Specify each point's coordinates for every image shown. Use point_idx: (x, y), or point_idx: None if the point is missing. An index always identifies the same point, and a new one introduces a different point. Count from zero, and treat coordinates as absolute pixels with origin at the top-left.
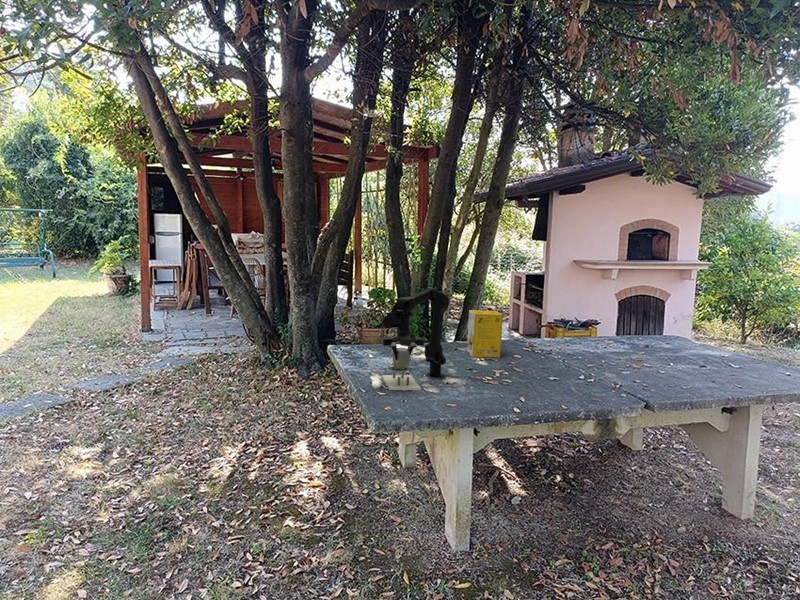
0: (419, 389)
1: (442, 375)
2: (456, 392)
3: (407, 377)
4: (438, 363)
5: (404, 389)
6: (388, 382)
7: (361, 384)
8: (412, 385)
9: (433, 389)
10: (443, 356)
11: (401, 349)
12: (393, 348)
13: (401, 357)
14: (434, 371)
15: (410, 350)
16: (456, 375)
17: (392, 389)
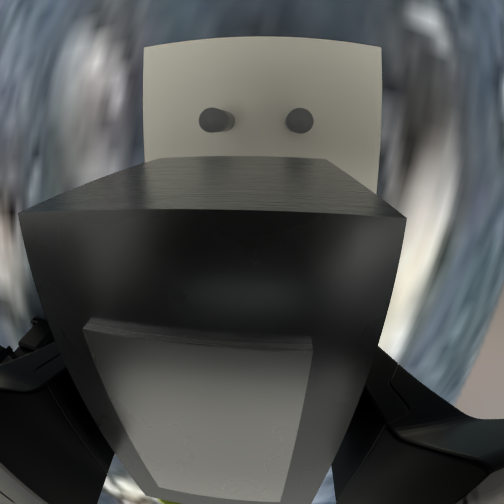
0: (159, 47)
1: (34, 324)
2: (5, 58)
3: (217, 113)
4: (8, 352)
5: (269, 39)
6: None
7: (494, 222)
8: (190, 106)
9: (76, 83)
10: None
11: (221, 465)
12: (493, 423)
13: (282, 175)
14: (48, 337)
15: (33, 370)
16: (2, 323)
17: (359, 45)
